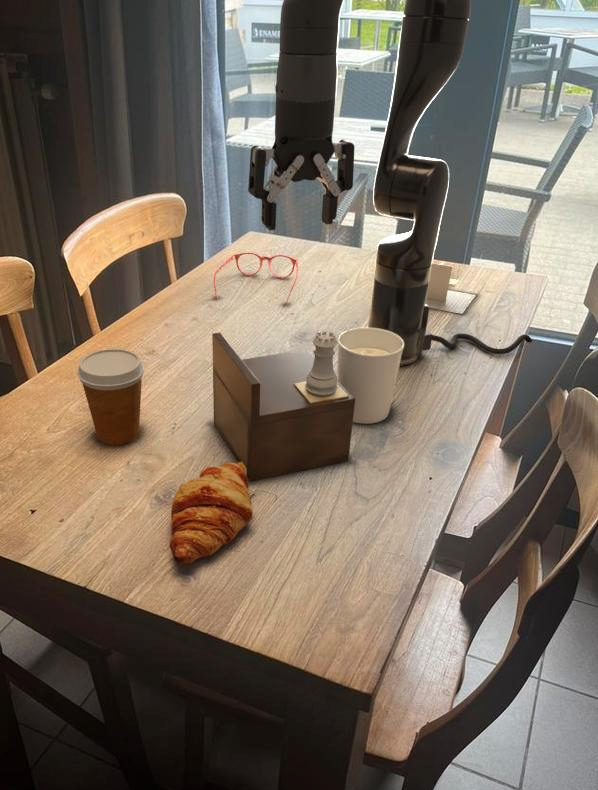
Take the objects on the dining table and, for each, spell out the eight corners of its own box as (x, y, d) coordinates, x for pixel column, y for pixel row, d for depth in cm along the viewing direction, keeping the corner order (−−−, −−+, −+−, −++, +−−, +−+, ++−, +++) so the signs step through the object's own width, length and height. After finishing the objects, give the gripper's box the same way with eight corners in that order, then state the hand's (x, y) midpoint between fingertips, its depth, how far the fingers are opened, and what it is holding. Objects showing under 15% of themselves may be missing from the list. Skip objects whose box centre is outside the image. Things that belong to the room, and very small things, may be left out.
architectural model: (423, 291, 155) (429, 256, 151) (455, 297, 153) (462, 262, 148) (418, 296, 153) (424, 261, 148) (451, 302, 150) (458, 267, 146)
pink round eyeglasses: (303, 278, 161) (305, 256, 158) (291, 306, 149) (293, 282, 146) (228, 272, 164) (228, 250, 161) (210, 298, 152) (209, 275, 149)
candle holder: (398, 401, 117) (408, 332, 110) (388, 431, 110) (399, 359, 102) (338, 391, 120) (345, 323, 113) (325, 420, 112) (331, 349, 105)
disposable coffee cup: (79, 425, 111) (69, 353, 104) (139, 412, 114) (132, 342, 107) (95, 457, 104) (85, 383, 97) (158, 442, 107) (152, 370, 100)
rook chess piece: (335, 398, 97) (341, 343, 92) (302, 395, 97) (306, 340, 93) (338, 383, 100) (344, 329, 95) (306, 380, 101) (310, 326, 96)
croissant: (220, 491, 103) (194, 445, 100) (282, 476, 98) (257, 426, 95) (161, 589, 86) (128, 537, 83) (232, 576, 81) (199, 520, 78)
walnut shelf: (303, 407, 115) (308, 319, 107) (348, 461, 103) (359, 366, 94) (213, 423, 111) (212, 333, 102) (249, 481, 99) (251, 384, 90)
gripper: (263, 101, 86) (260, 239, 95) (371, 95, 89) (357, 228, 99) (242, 92, 91) (241, 223, 101) (344, 87, 95) (333, 213, 105)
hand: (299, 225), depth 100 cm, fingers open, 8 cm apart
